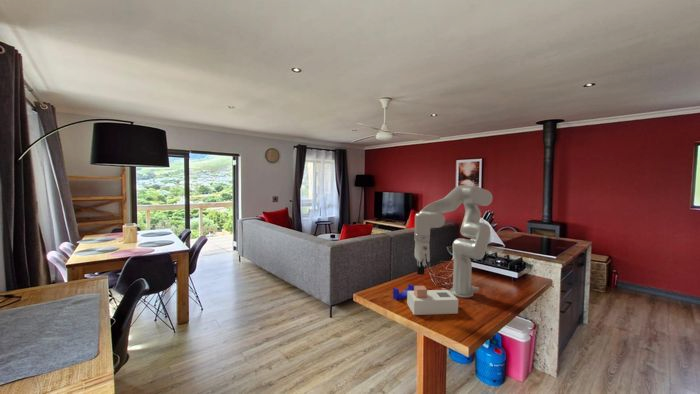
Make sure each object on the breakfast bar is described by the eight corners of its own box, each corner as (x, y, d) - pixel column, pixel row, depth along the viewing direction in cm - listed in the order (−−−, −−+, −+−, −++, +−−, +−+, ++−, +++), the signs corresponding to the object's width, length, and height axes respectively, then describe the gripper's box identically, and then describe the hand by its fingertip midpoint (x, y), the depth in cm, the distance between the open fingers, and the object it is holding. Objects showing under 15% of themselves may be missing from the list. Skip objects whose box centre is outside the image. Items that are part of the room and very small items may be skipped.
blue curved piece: (408, 293, 164) (408, 283, 163) (413, 296, 160) (413, 286, 159) (391, 297, 158) (391, 287, 158) (396, 300, 154) (396, 289, 154)
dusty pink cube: (423, 297, 147) (423, 285, 147) (426, 302, 142) (427, 289, 142) (413, 298, 147) (414, 285, 146) (417, 302, 142) (417, 289, 141)
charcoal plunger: (445, 304, 148) (446, 292, 148) (449, 309, 143) (450, 296, 143) (436, 305, 148) (436, 292, 147) (440, 309, 143) (440, 296, 142)
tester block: (447, 302, 152) (448, 289, 151) (457, 313, 140) (458, 299, 140) (407, 303, 150) (407, 290, 150) (414, 314, 138) (414, 300, 138)
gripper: (435, 241, 135) (433, 279, 136) (424, 234, 149) (422, 269, 151) (419, 241, 134) (418, 279, 135) (410, 234, 149) (408, 269, 150)
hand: (420, 274), depth 143 cm, fingers closed
